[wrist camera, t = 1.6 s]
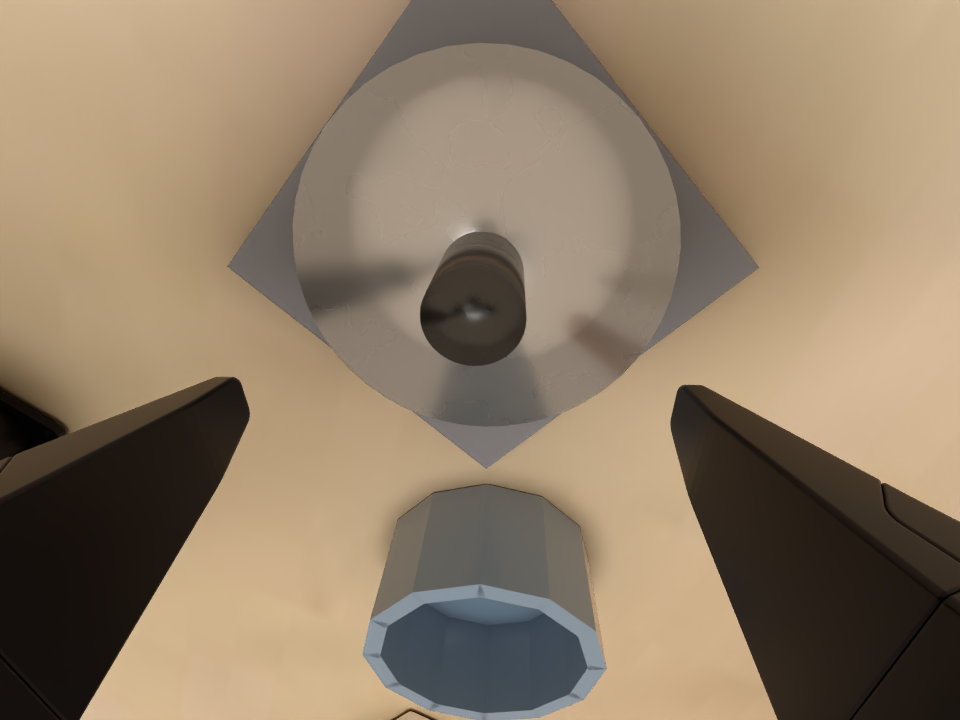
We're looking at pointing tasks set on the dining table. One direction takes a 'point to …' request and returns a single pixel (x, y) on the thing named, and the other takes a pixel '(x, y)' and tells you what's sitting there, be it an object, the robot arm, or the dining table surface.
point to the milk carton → (412, 716)
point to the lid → (486, 234)
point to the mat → (541, 26)
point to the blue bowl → (486, 607)
